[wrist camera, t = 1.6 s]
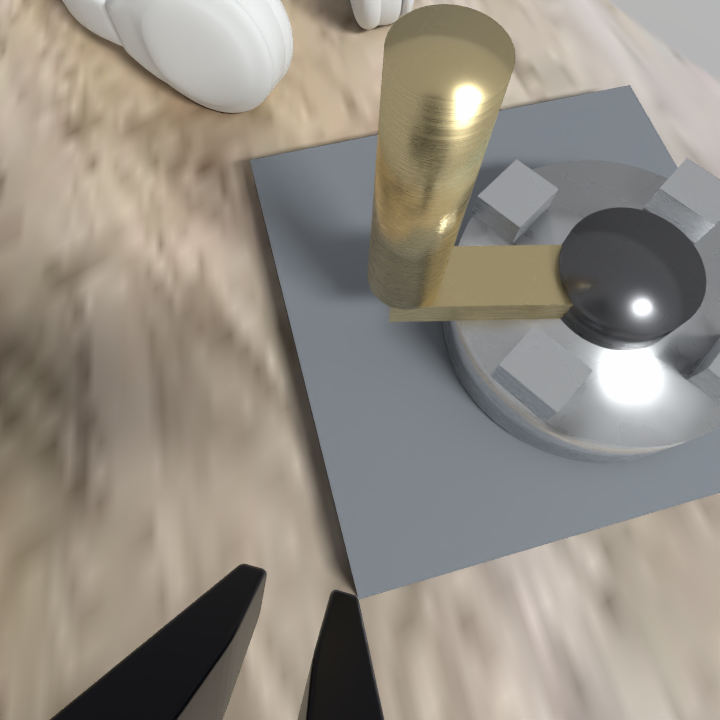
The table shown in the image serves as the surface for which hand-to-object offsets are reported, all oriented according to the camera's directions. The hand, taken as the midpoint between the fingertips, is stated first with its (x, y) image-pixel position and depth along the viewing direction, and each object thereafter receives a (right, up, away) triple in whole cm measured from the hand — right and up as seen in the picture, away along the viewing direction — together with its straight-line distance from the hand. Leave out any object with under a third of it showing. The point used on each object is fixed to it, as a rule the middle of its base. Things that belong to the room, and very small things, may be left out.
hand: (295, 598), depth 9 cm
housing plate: (+8, +6, +17) cm, 20 cm away
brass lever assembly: (+9, +5, +15) cm, 18 cm away
